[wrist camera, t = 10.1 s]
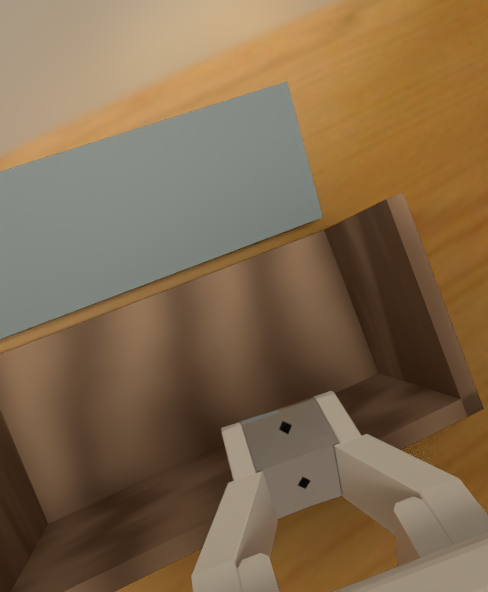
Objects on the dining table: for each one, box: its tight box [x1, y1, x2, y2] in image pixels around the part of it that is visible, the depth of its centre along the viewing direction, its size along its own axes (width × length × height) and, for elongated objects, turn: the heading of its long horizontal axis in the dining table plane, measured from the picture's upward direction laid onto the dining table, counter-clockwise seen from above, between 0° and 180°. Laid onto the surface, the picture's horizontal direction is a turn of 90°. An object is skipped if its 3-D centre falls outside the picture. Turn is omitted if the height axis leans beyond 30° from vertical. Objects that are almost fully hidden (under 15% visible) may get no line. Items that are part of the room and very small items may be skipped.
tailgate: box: [0, 82, 323, 339], centre depth 28 cm, size 24×2×9 cm
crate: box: [0, 193, 483, 592], centre depth 25 cm, size 26×12×10 cm, turn 112°
